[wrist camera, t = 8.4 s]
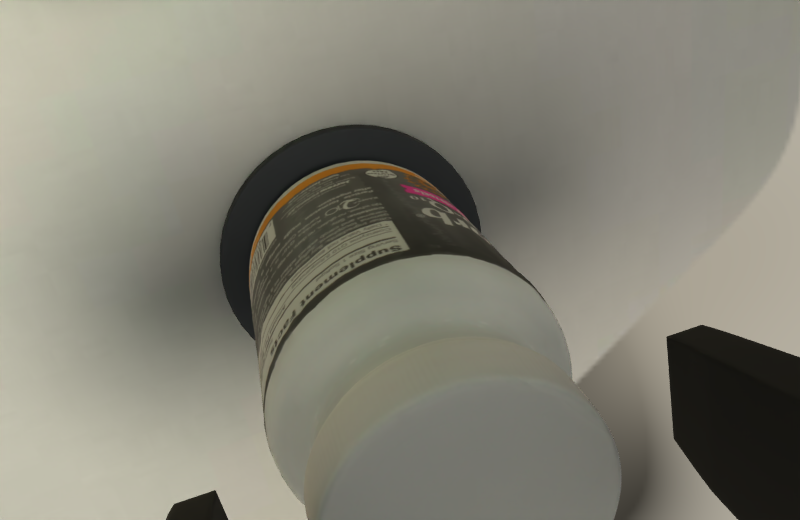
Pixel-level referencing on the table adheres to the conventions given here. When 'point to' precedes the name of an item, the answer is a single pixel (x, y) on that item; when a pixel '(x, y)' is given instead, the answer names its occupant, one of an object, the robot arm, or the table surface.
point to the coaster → (310, 158)
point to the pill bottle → (415, 363)
